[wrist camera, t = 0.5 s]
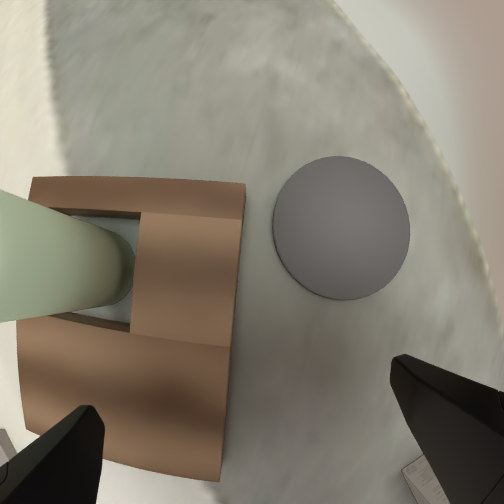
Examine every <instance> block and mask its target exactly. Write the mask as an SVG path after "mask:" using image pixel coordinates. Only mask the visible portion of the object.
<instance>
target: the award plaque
mask: <svg viewBox="0 0 504 504" xmlns="http://www.w3.org/2000/svg"><path fill="white" fill-rule="evenodd" d="M16 454H17V452H16V450H15V448H14V446H13V444H12V442H11V440H10V438H9V436H8V434H7V432H6V430H5V429H0V467H1V466H2V465H3V464H5V463H6V462H9V460H10V459H11V458H13V457H14V456H15V455H16Z"/></svg>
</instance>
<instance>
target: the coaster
mask: <svg viewBox="0 0 504 504" xmlns="http://www.w3.org/2000/svg"><path fill="white" fill-rule="evenodd" d="M273 237H274V242H275V246H276V250H277V252H278V255H279V257H280V259H281V261H282V263H283V265H284V266H285V268H286V269H287V270H288V272H289V273H290V274H291V275H292V276H293V277H294V279H295V280H296V281H298V282H299V283H300V284H301V285H303V286H304V287H305V288H307V289H309V290H310V291H312V292H314V293H317V294H319V295H322V296H325V297H329V298H334V299H341V300H351V299H358V298H362V297H365V296H369V295H371V294H373V293H375V292H377V291H378V290H380V289H382V288H383V287H384V286H386V285H387V284H388V283H389V282H390V281H391V280H392V279H393V278H394V277H395V275H396V274H397V273H398V271H399V270H400V268H401V266H402V264H403V262H404V260H405V257H406V254H407V251H408V247H409V242H410V223H409V217H408V213H407V209H406V206H405V204H404V201H403V199H402V197H401V195H400V193H399V191H398V190H397V189H396V187H395V186H394V184H393V183H392V182H391V181H390V180H389V179H388V178H387V177H386V176H385V175H384V174H383V173H382V172H381V171H379V170H378V169H376V168H375V167H374V166H372V165H370V164H368V163H366V162H364V161H361V160H358V159H355V158H350V157H342V156H333V157H326V158H321V159H318V160H315V161H313V162H311V163H308V164H306V165H305V166H303V167H302V168H300V169H299V170H298V171H297V172H296V173H295V174H293V175H292V177H291V178H290V179H289V180H288V181H287V183H286V184H285V186H284V187H283V189H282V191H281V193H280V195H279V198H278V200H277V203H276V206H275V210H274V215H273Z"/></svg>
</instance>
